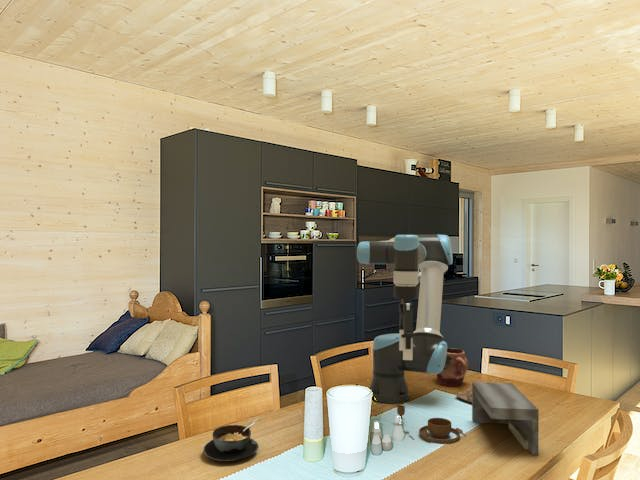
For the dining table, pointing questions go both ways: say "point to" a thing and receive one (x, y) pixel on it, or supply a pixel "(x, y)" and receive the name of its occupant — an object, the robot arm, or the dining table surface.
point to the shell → (466, 396)
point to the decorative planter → (453, 368)
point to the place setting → (435, 428)
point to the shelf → (507, 411)
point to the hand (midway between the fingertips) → (405, 355)
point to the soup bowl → (231, 443)
